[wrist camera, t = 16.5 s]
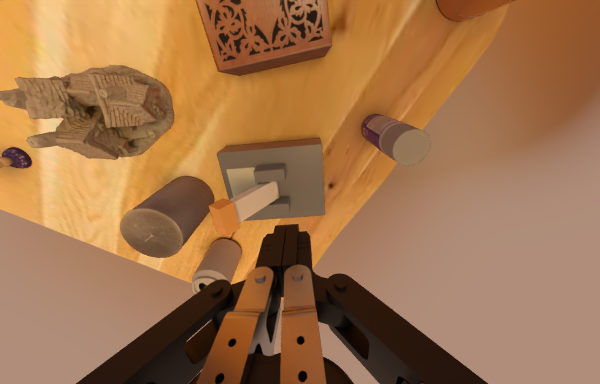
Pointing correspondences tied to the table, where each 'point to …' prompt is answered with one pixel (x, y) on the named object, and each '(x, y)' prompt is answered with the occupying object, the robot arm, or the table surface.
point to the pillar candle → (167, 217)
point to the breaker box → (278, 175)
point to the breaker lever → (242, 206)
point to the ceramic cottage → (97, 110)
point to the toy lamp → (15, 158)
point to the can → (217, 264)
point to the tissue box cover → (265, 32)
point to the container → (396, 139)
